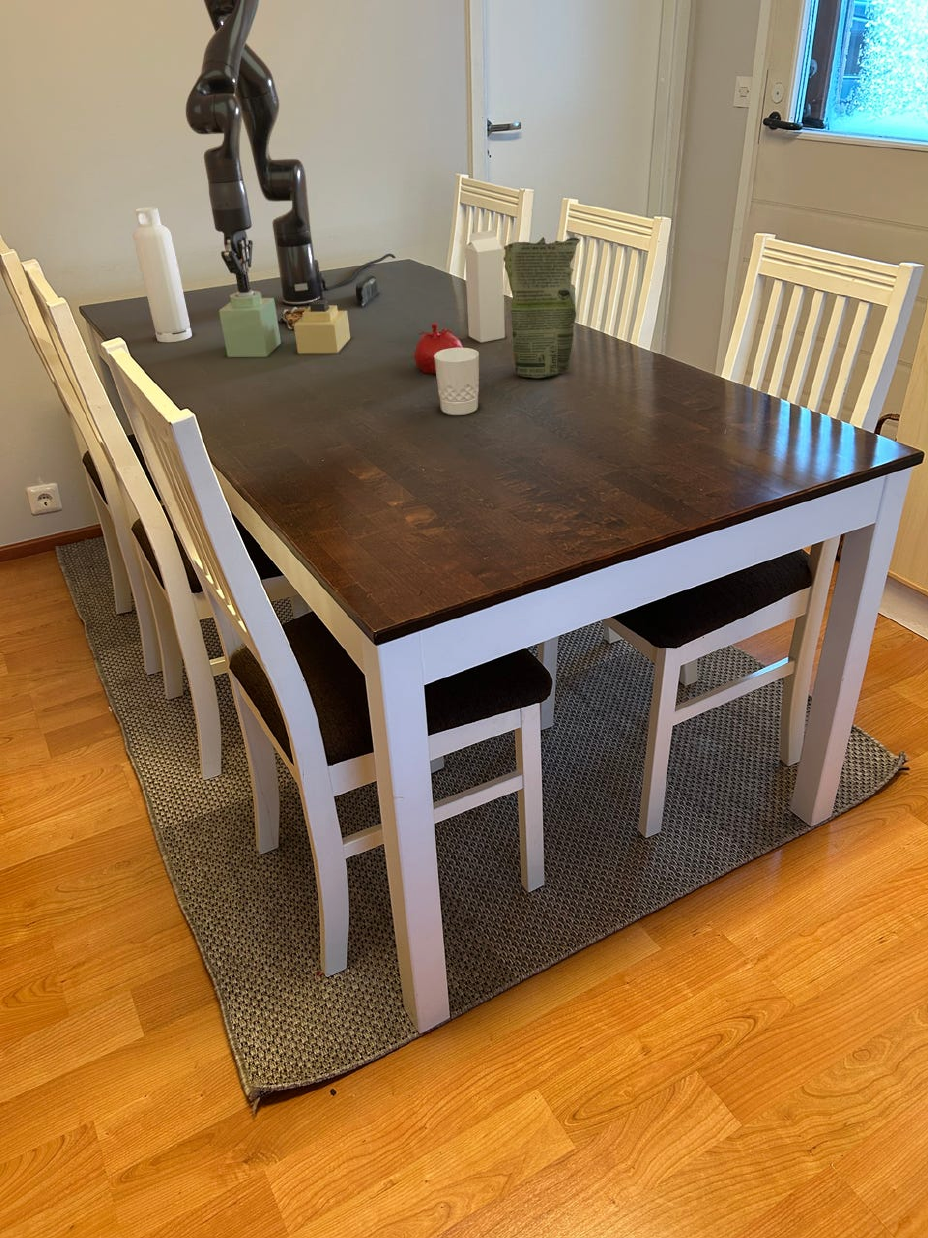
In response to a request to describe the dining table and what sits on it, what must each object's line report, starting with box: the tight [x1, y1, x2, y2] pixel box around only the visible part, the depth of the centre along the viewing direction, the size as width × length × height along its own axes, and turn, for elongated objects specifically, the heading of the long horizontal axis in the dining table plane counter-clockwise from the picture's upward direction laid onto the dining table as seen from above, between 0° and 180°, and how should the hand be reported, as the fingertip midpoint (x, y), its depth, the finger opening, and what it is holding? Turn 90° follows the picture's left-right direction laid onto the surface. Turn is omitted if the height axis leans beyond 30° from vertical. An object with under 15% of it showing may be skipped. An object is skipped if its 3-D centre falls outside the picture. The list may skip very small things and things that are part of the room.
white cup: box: [434, 347, 480, 416], centre depth 167 cm, size 8×8×10 cm
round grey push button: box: [235, 289, 254, 297], centre depth 201 cm, size 4×4×2 cm
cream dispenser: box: [293, 305, 351, 354], centre depth 205 cm, size 11×9×8 cm
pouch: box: [503, 236, 581, 379], centre depth 178 cm, size 11×12×25 cm
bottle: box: [132, 206, 193, 343], centre depth 211 cm, size 8×8×28 cm
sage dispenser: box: [218, 290, 282, 358], centre depth 204 cm, size 10×9×12 cm
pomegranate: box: [413, 323, 464, 375], centre depth 186 cm, size 10×10×9 cm
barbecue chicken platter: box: [278, 306, 307, 330], centre depth 222 cm, size 7×12×4 cm, turn 29°
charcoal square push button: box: [309, 299, 330, 312], centre depth 202 cm, size 3×3×2 cm
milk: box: [464, 229, 505, 344], centre depth 200 cm, size 6×6×22 cm
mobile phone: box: [355, 275, 378, 308], centre depth 238 cm, size 5×3×15 cm
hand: (244, 291), depth 200 cm, fingers closed
